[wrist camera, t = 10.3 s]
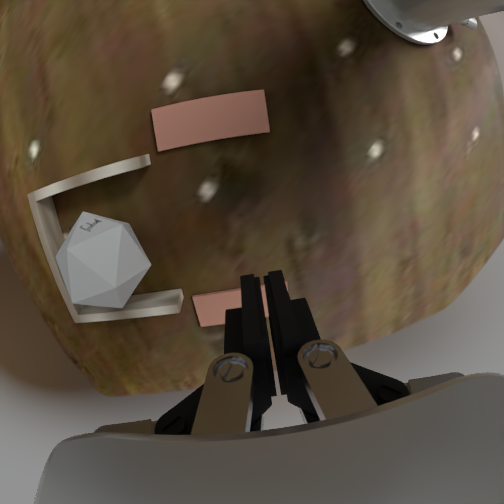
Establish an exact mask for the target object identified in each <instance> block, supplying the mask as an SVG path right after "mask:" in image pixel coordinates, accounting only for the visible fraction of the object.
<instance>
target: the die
mask: <svg viewBox="0 0 504 504" xmlns="http://www.w3.org/2000/svg"><path fill="white" fill-rule="evenodd" d="M56 259H57V263H58V266H59V268H60V271H61V274H62V277H63V280H64V283H65V285H66V288H67V291H68V293H69V296H70V298H71V301H72V303H73V304H82V305H91V306H102V307H113V308H123V307H124V305H125V303H126V302H127V300H128V299H129V297H130V296H131V294H132V293H133V291H134V290H135V288H136V287H137V285H138V284H139V282H140V281H141V279H142V278H143V277H144V275H145V274H146V272H147V271H148V269H149V268H150V266H151V263H150V261H149V260H148V258H147V256H146V254H145V252H144V250H143V249H142V247H141V245H140V243H139V241H138V239H137V237H136V236H135V234H134V232H133V230H132V228H131V226H130V224H129V223H126V222H122V221H118V220H114V219H110V218H106V217H103V216H99V215H95V214H91V213H87V212H84V211H83V212H82V214H81V215H80V217H79V218H78V220H77V221H76V223H75V225H74V226H73V228H72V229H71V231H70V233H69V234H68V236H67V238H66V239H65V241H64V243H63V244H62V246H61V248H60V250H59V251H58V253H57V255H56Z"/></svg>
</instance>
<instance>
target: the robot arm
mask: <svg viewBox="0 0 504 504" xmlns="http://www.w3.org/2000/svg"><path fill="white" fill-rule="evenodd" d="M363 1H364V3H365V4H366V6H367V7H368V9H369V10H370V11H371V12H372V13H373V15H374V16H375V17H376V18H377V19H378V20H379V21H380V22H381V23H382V24H384V25H385V26H386V27H387V28H389V29H390V30H391V31H393V32H394V33H396V34H397V35H399V36H400V37H402V38H404V39H406V40H408V41H411V42H413V43H416V44H422V45H429V44H434V43H437V42H439V41H441V40H443V38H444V37H445V36H446V33H447V31H448V25H450V24H453V23H455V24H462V25H463V26H466V27H468V28H470V29H472V30H473V29H475V28H476V27H477V22H476V20H475V19H474V18H475V17H479V16H483V15H487V14H492V13H497V12H501V11H504V0H363ZM240 280H241V304H242V307H241V308H233V309H226V311H225V338H224V355H221V356H219V357H217V358H216V359H214V361H213V362H212V363H211V364H210V366H209V368H208V372H207V376H206V379H205V383H204V384H203V385H202V386H200V387H199V388H198V389H197V390H195V391H194V392H193V393H192V394H190V395H189V396H188V397H186V398H185V399H184V400H182V401H181V402H180V403H178V404H177V405H176V406H175V407H173V408H172V409H170V410H169V411H168V412H167V413H165V414H164V415H162V416H161V417H160V418H159V420H158V421H152V420H151V419H148V420H143V421H136V422H128V423H121V424H112V425H105V426H101V427H99V428H98V429H96V430H95V432H94V433H88V434H82V435H77V436H73V437H70V438H67V439H65V440H63V441H61V442H60V443H58V444H57V445H56V446H55V448H54V449H53V450H52V452H51V454H50V456H49V458H48V460H47V462H46V464H45V467H44V470H43V472H42V475H41V478H40V482H39V485H38V489H37V493H36V497H35V501H34V504H504V375H502V374H499V373H488V372H487V373H476V374H470V375H466V376H465V375H463V374H461V373H458V372H457V373H456V372H454V373H448V374H442V375H437V376H431V377H424V378H419V379H411V380H409V381H408V383H403V382H401V381H399V380H397V379H394V378H391V377H388V376H386V375H383V374H380V373H377V372H375V371H372V370H369V369H366V368H364V367H361V366H359V365H356V364H353V363H351V362H349V360H348V359H347V357H346V356H345V354H344V353H343V351H342V350H341V348H340V347H339V346H338V345H337V344H335V343H334V342H332V341H328V340H321V339H320V336H319V333H318V330H317V328H316V325H315V322H314V320H313V317H312V314H311V311H310V309H309V306H308V303H307V301H306V299H305V298H300V299H294V300H290V297H289V294H288V290H287V287H286V284H285V280H284V277H283V274H282V271H281V270H277V271H271V272H268V276H264V284H265V292H266V299H267V307H268V314H269V322H270V329H271V336H272V342H273V348H274V354H275V360H276V366H277V372H278V378H279V383H280V390H281V395H285V394H287V398H288V402H290V403H291V404H293V405H295V406H297V407H299V410H300V414H301V416H302V419H303V421H304V423H305V424H302V425H297V426H291V427H284V428H278V429H270V430H263V426H264V412H265V411H266V410H267V409H268V408H269V407H270V406H271V405H272V401H271V397H272V396H277V395H276V388H275V380H274V373H273V365H272V358H271V351H270V344H269V337H268V331H267V324H266V317H265V311H264V304H263V298H262V291H261V285H260V278H259V277H254V274H250V275H243V276H240Z"/></svg>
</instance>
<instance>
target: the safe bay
mask: <svg viewBox="0 0 504 504" xmlns="http://www.w3.org/2000/svg"><path fill="white" fill-rule="evenodd" d="M150 164H151V162H150V157H149V154H146V155H142V156H138V157H134V158H130V159H127V160H123V161H120V162H116V163H113V164H110V165H106V166H103V167H100V168H97V169H94V170H90V171H87V172H84V173H82V174H79V175H76V176H73V177H70V178H67V179H65V180H62V181H59V182H57V183H54V184H51V185H49V186H46V187H44V188H41V189H39V190H36V191H34V192H32V193H29V194H27V195H28V199H29V203H30V207H31V211H32V214H33V218H34V221H35V225H36V228H37V231H38V234H39V237H40V240H41V243H42V246H43V249H44V252H45V255H46V258H47V260H48V263H49V266H50V268H51V271H52V273H53V276H54V278H55V281H56V283H57V285H58V288H59V290H60V292H61V294H62V297H63V299H64V301H65V303H66V305H67V307H68V310H69V312H70V314H71V316H72V318H73V320H74V322H75V323H84V322H97V321H108V320H119V319H129V318H139V317H148V316H157V315H166V314H174V313H180V310H181V306H182V301H183V297H184V296H183V293H182V289H175V290H168V291H161V292H154V293H146V294H139V295H131V296H130V297H129V299H128V300H127V302H126V303H125V305H124V307H123V308H113V307H102V306H91V305H82V304H73V303H72V301H71V298H70V296H69V293H68V291H67V288H66V285H65V283H64V280H63V277H62V274H61V271H60V268H59V266H58V263H57V259H56V255H57V253H58V251H59V250H60V248H61V246H62V244H63V243H64V241H65V240H64V237H63V234H62V230H61V227H60V224H59V220H58V217H57V213H56V210H55V206H54V202H53V198H52V195H54V194H57V193H60V192H63V191H65V190H68V189H71V188H74V187H77V186H80V185H83V184H86V183H90V182H93V181H96V180H99V179H103V178H106V177H110V176H113V175H117V174H120V173H124V172H127V171H131V170H135V169H139V168H142V167H145V166H148V165H150Z"/></svg>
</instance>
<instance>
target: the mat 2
mask: <svg viewBox="0 0 504 504" xmlns="http://www.w3.org/2000/svg"><path fill="white" fill-rule="evenodd" d="M285 284H286V287H287V290H288V286H287V281H285ZM261 291H262V298H263V304H264V311H265V317H269V314H268V307H267V299H266V292H265V284H262V285H261ZM192 298H193V302H194V305H195V309H196V312H197V315H198V319H199V322H200V325H201V327H204V326H211V325H219V324H225V311H226V309H233V308H241V307H242V304H241V288H238V289H231V290H225V291H218V292H212V293H205V294H198V295H193V296H192Z"/></svg>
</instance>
